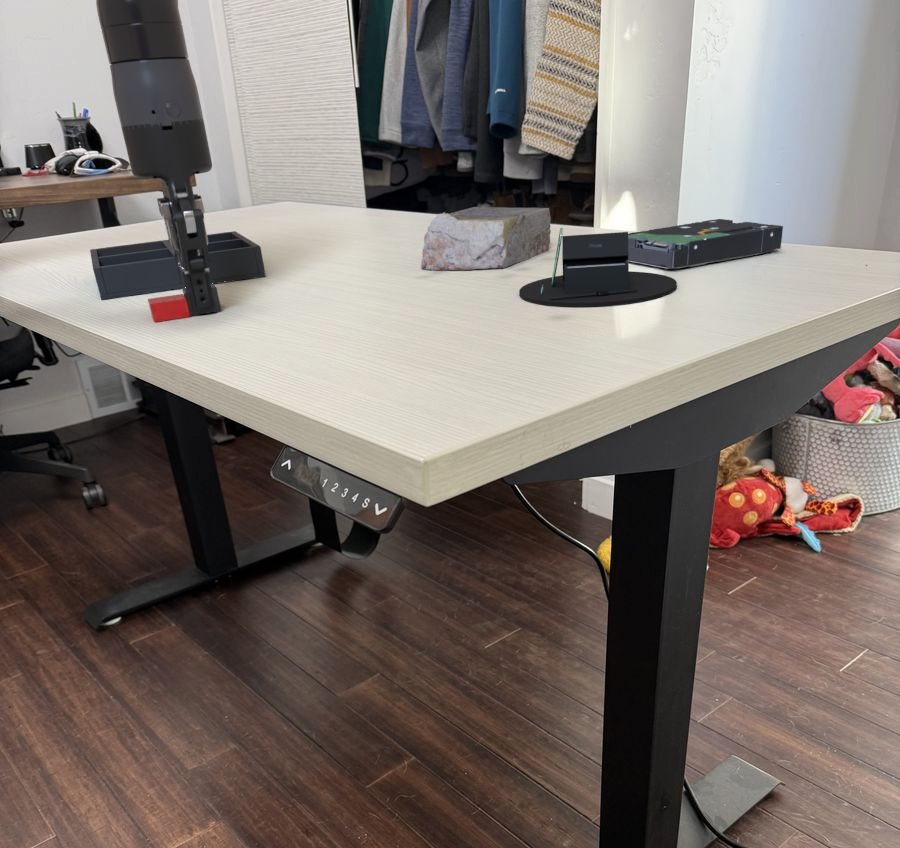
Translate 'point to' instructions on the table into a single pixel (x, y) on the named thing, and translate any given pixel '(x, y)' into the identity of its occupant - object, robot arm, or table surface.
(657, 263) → the disk drive
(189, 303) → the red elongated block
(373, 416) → the table surface
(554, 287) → the black display stand
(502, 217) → the geological specimen
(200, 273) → the robot arm
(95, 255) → the tray
